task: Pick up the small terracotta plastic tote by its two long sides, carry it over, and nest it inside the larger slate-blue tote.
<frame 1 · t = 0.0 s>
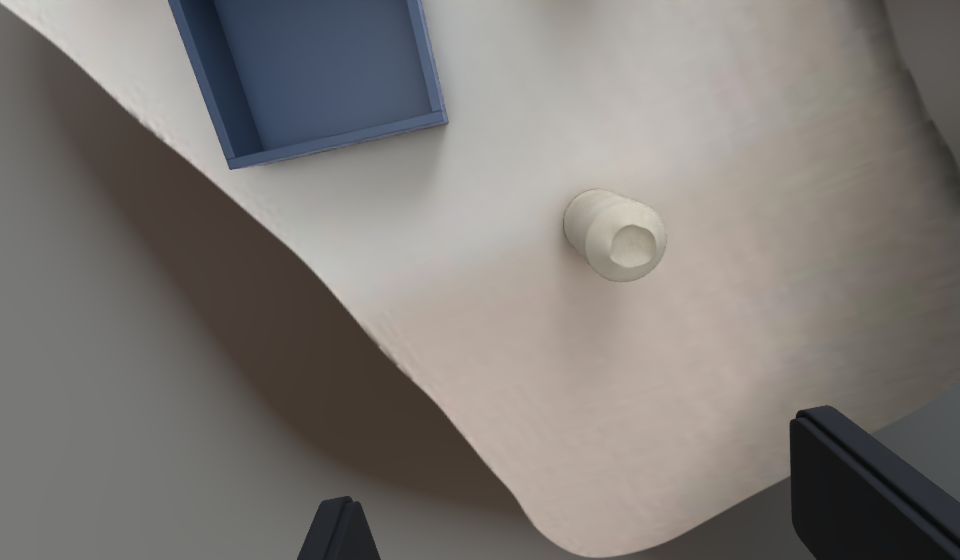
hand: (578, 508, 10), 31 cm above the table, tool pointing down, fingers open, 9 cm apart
big tote: (329, 54, 36), on the table
candle: (594, 220, 40), on the table
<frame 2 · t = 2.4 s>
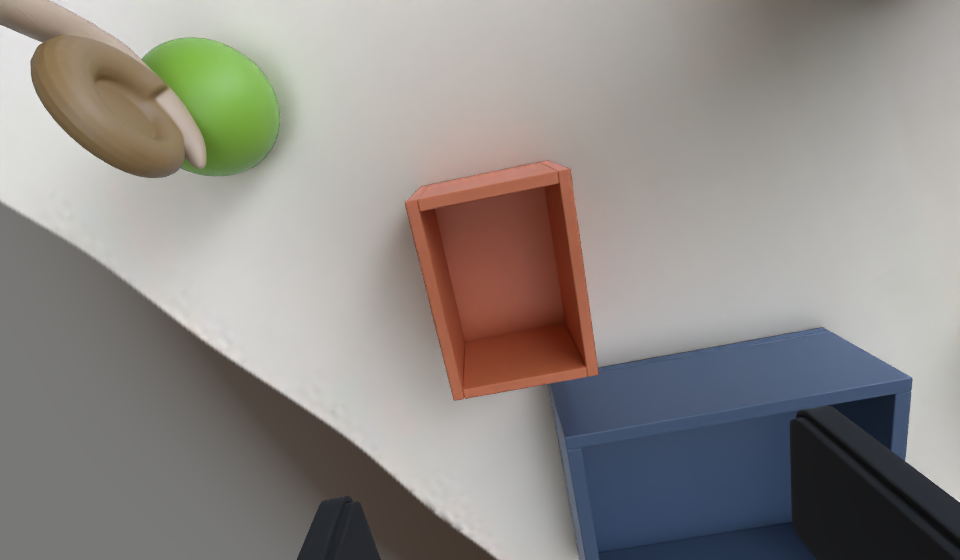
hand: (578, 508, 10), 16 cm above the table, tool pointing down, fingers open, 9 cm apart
big tote: (690, 450, 28), on the table
snail figurine: (235, 103, 22), on the table
small tote: (501, 259, 25), on the table
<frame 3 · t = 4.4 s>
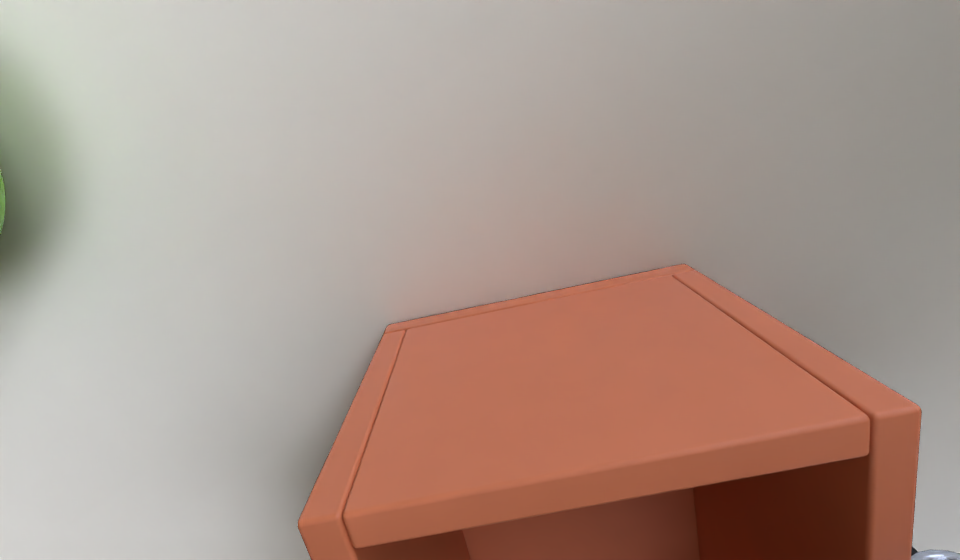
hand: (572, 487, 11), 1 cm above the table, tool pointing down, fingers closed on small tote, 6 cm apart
small tote: (566, 465, 11), on the table, touching gripper
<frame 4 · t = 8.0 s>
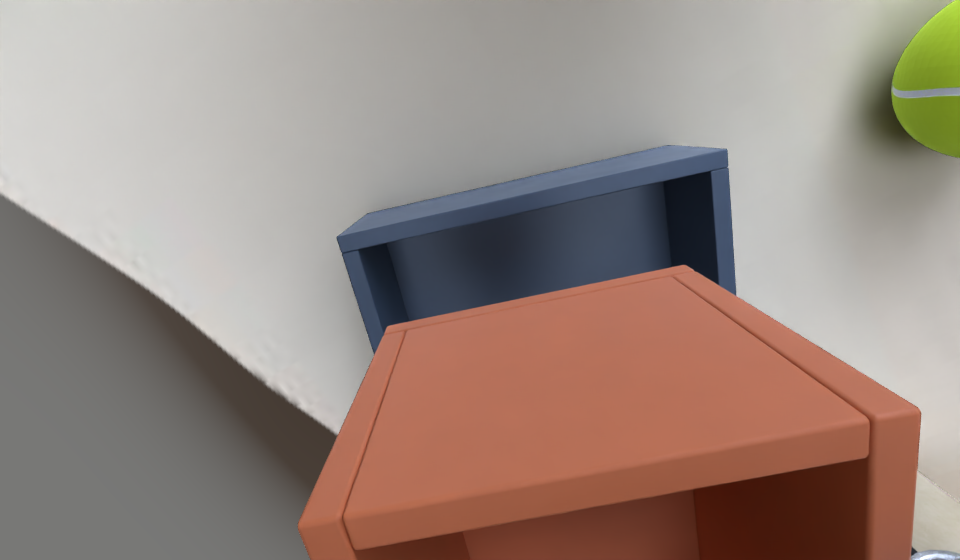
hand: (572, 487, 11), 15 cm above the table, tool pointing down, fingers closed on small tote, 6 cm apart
big tote: (539, 302, 25), on the table
small tote: (566, 466, 11), point 14 cm above the table, touching gripper
candle: (867, 488, 30), on the table
tennis ball: (923, 79, 22), on the table
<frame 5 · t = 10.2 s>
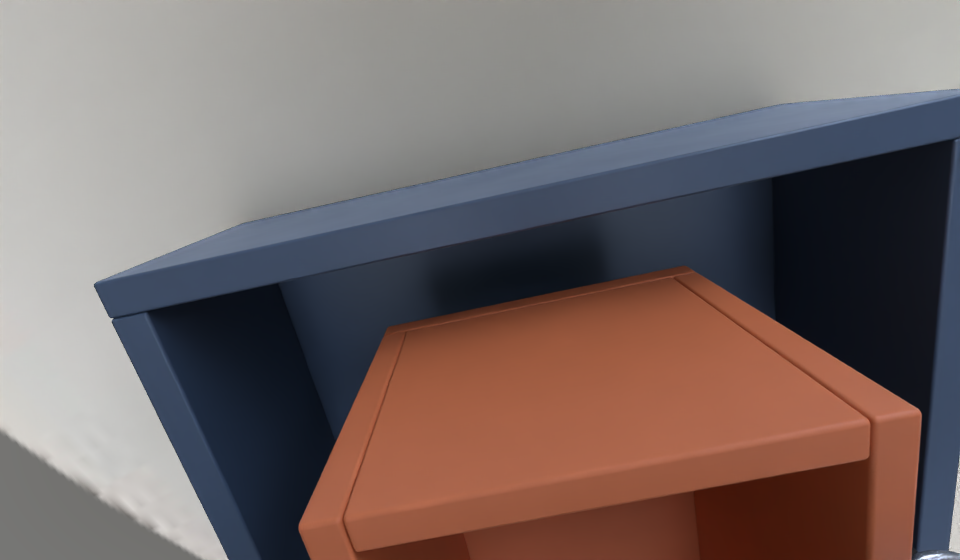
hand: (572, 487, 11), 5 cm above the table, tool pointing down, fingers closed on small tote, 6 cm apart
big tote: (544, 373, 15), on the table
small tote: (566, 467, 11), point 4 cm above the table, touching gripper
when the fingers open (1 cm above the table, at t = 11.7 s): small tote stays where it is, resting on big tote.
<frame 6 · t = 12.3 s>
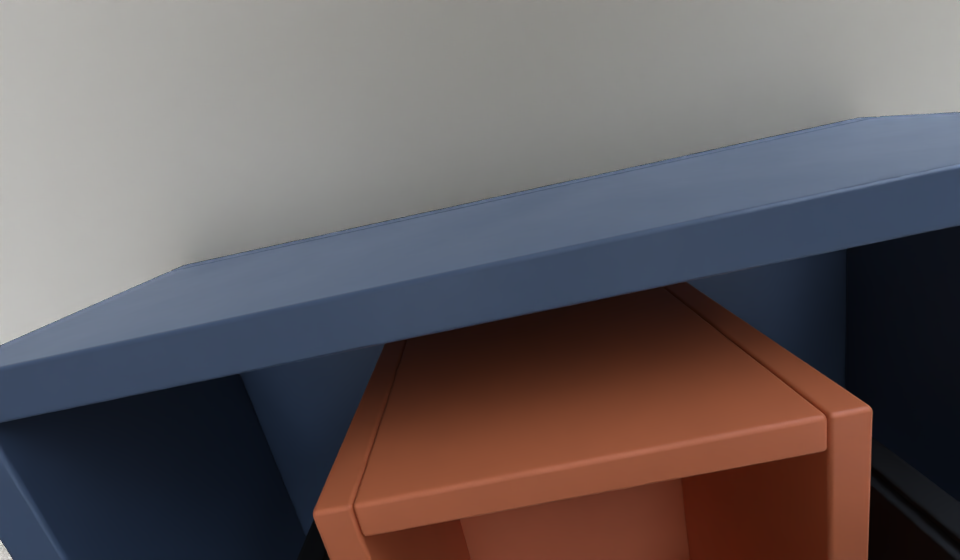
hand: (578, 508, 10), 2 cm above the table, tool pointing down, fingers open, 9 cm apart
big tote: (557, 444, 12), on the table
small tote: (561, 465, 12), point 1 cm above the table, touching big tote
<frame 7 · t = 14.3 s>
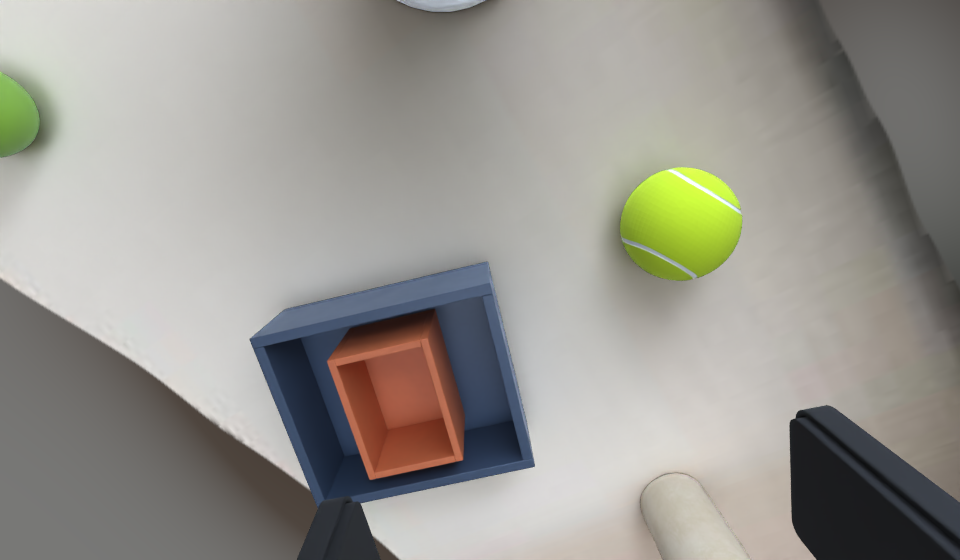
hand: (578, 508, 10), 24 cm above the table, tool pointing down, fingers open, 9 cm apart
big tote: (410, 367, 36), on the table
snail figurine: (16, 108, 31), on the table
small tote: (409, 372, 35), point 1 cm above the table, touching big tote
candle: (671, 498, 40), on the table
tennis ball: (656, 216, 33), on the table
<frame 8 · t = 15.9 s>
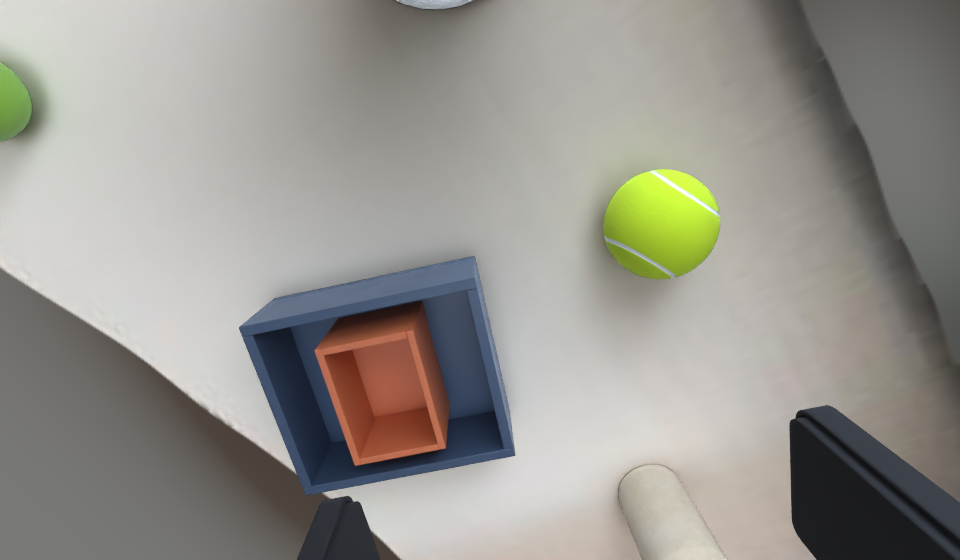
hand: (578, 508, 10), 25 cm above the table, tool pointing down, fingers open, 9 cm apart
big tote: (396, 357, 37), on the table
snail figurine: (8, 93, 31), on the table
small tote: (395, 362, 36), point 1 cm above the table, touching big tote
candle: (647, 488, 41), on the table
tennis ball: (639, 215, 34), on the table
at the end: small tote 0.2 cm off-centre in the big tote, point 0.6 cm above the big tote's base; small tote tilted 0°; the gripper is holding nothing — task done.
